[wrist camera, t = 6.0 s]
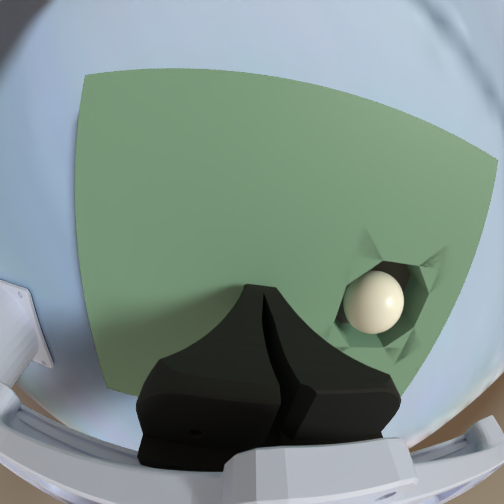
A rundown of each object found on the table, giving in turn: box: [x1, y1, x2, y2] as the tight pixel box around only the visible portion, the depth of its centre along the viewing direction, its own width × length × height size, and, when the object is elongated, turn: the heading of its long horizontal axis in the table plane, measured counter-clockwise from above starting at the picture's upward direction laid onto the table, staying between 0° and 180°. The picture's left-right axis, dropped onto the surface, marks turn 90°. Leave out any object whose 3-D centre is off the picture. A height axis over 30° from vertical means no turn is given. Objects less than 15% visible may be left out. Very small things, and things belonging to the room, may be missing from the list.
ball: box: [343, 271, 404, 334], centre depth 13 cm, size 3×3×3 cm
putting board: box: [75, 68, 498, 397], centre depth 13 cm, size 20×18×2 cm
